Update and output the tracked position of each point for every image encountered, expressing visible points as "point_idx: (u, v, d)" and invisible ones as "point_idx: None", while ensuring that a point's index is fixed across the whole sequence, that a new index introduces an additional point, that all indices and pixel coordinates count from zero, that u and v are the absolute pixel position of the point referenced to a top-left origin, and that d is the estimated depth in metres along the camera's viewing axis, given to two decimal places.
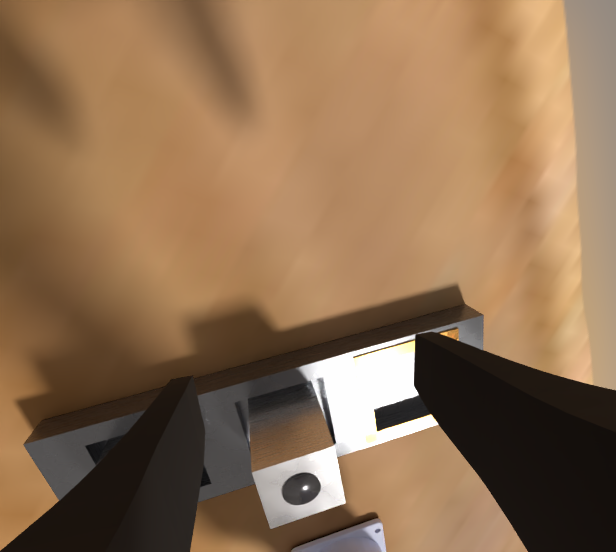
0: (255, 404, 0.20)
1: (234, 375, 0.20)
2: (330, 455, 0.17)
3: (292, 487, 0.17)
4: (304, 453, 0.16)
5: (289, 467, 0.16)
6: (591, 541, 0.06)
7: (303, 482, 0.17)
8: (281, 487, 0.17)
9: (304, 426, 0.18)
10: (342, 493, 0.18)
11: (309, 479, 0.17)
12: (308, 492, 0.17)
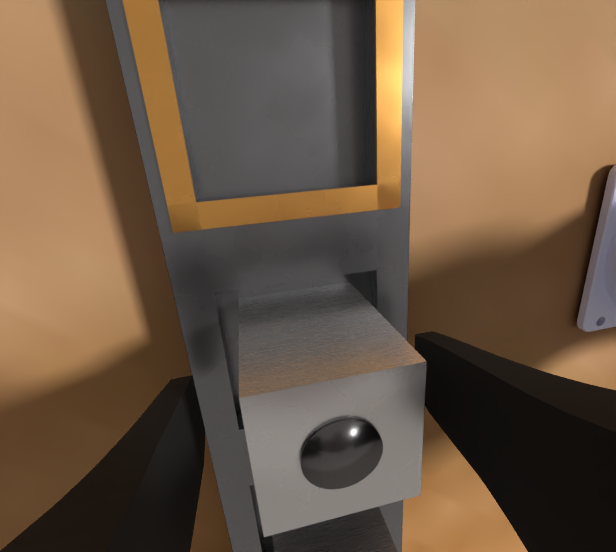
0: None
1: None
2: (267, 405, 0.07)
3: (331, 469, 0.08)
4: (248, 449, 0.07)
5: (273, 479, 0.08)
6: (591, 541, 0.06)
7: (321, 455, 0.08)
8: (323, 487, 0.08)
9: None
10: (393, 370, 0.07)
11: (318, 445, 0.07)
12: (354, 444, 0.08)
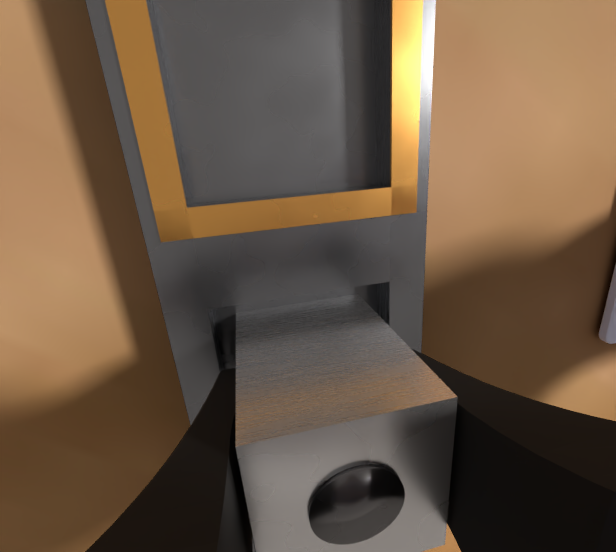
0: None
1: None
2: (269, 453, 0.06)
3: (344, 521, 0.07)
4: (247, 503, 0.06)
5: (276, 535, 0.06)
6: None
7: (333, 508, 0.06)
8: (335, 542, 0.07)
9: None
10: (419, 408, 0.06)
11: (330, 496, 0.06)
12: (371, 493, 0.06)
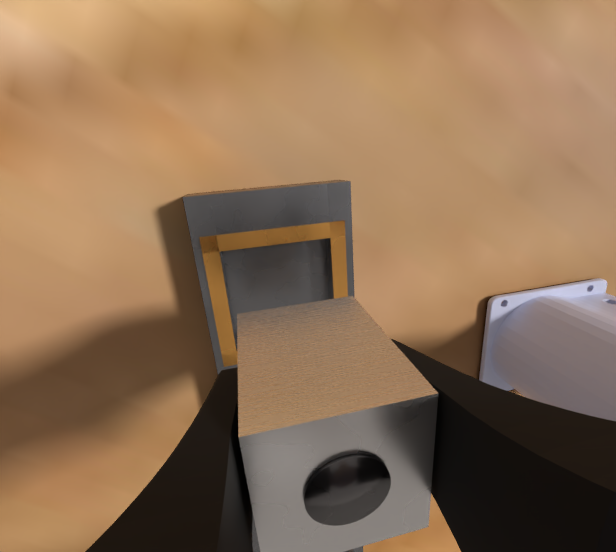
0: None
1: None
2: (268, 443, 0.06)
3: (336, 505, 0.07)
4: (248, 487, 0.07)
5: (274, 517, 0.07)
6: None
7: (325, 492, 0.07)
8: (328, 523, 0.08)
9: None
10: (403, 404, 0.07)
11: (323, 482, 0.07)
12: (360, 480, 0.07)
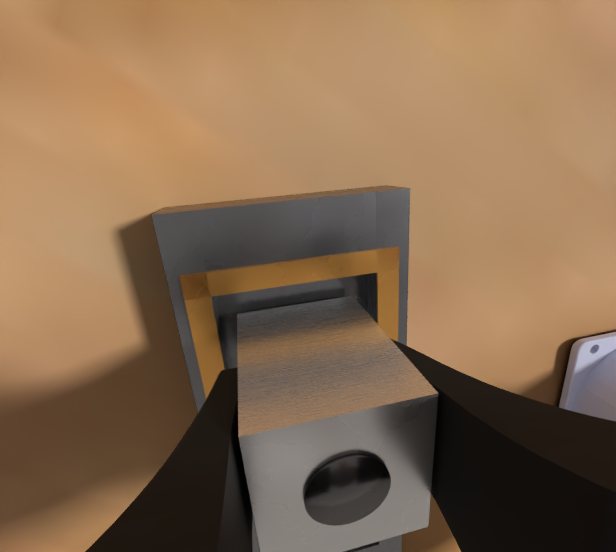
0: None
1: None
2: (268, 442, 0.06)
3: (336, 505, 0.07)
4: (248, 487, 0.07)
5: (274, 517, 0.07)
6: None
7: (326, 492, 0.07)
8: (328, 523, 0.08)
9: None
10: (403, 404, 0.07)
11: (323, 482, 0.07)
12: (360, 479, 0.07)
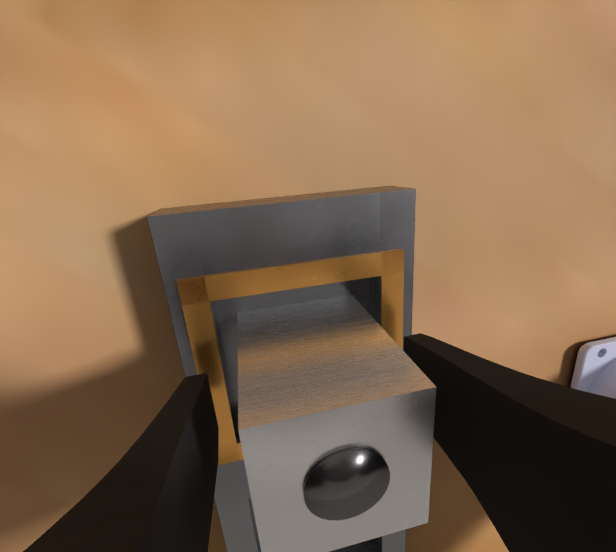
0: None
1: None
2: (267, 435, 0.07)
3: (336, 499, 0.07)
4: (248, 481, 0.07)
5: (274, 511, 0.07)
6: (571, 548, 0.06)
7: (325, 486, 0.07)
8: (328, 519, 0.08)
9: None
10: (401, 397, 0.07)
11: (322, 475, 0.07)
12: (359, 474, 0.07)
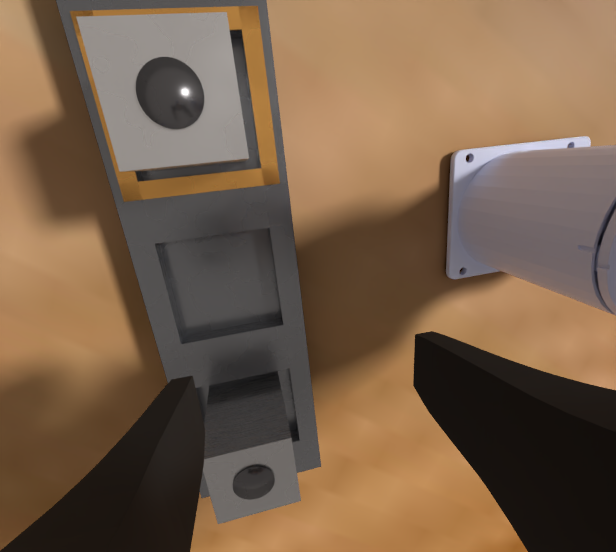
0: None
1: None
2: (99, 28, 0.09)
3: (165, 110, 0.10)
4: (94, 78, 0.10)
5: (117, 109, 0.10)
6: (591, 541, 0.06)
7: (152, 88, 0.10)
8: (162, 129, 0.11)
9: None
10: (200, 15, 0.10)
11: (147, 76, 0.10)
12: (177, 82, 0.10)
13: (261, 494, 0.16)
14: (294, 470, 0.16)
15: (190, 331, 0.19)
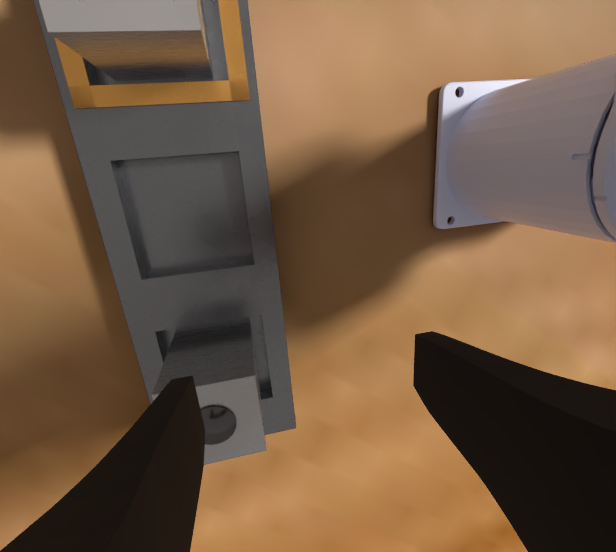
0: None
1: None
2: None
3: None
4: None
5: None
6: (591, 541, 0.06)
7: None
8: None
9: None
10: None
11: None
12: None
13: (221, 439, 0.15)
14: (258, 414, 0.15)
15: (153, 269, 0.17)
